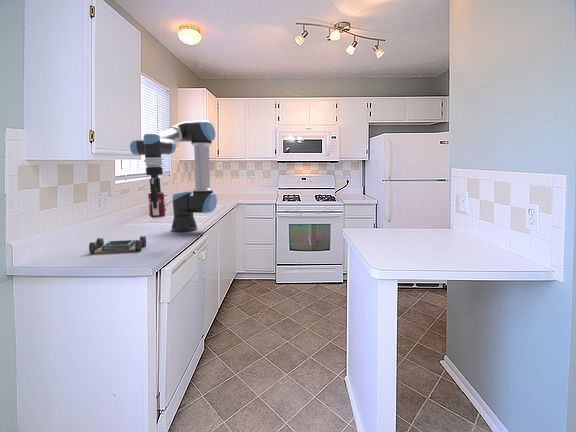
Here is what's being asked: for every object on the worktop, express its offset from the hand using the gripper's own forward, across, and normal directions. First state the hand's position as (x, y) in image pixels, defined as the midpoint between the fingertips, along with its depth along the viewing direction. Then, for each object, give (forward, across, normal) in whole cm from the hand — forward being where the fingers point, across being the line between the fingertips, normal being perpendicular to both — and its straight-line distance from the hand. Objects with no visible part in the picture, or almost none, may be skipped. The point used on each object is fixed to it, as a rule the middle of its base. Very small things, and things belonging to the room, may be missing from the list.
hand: (157, 213), depth 191 cm
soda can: (+2, 0, 0) cm, 2 cm away
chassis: (+16, +3, -18) cm, 24 cm away
